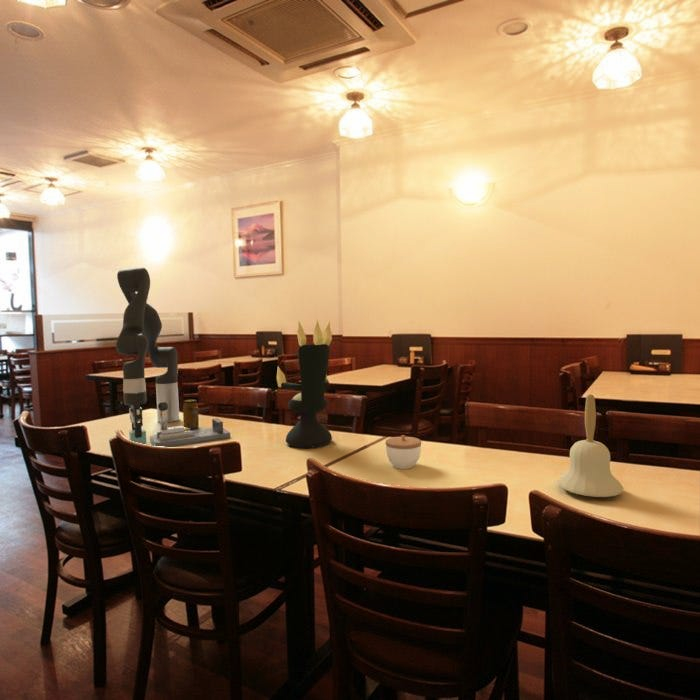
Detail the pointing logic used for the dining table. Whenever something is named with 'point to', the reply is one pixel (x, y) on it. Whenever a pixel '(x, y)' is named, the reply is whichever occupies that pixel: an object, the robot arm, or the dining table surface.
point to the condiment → (191, 415)
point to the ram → (163, 420)
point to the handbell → (590, 463)
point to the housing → (139, 440)
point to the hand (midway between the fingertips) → (136, 435)
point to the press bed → (192, 435)
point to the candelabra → (309, 389)
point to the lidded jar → (403, 451)
